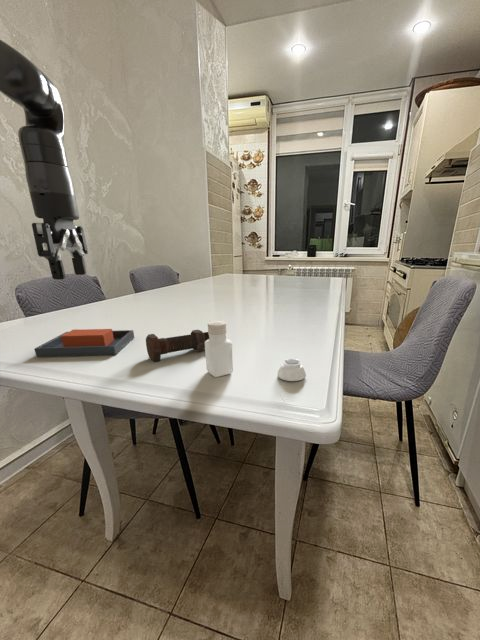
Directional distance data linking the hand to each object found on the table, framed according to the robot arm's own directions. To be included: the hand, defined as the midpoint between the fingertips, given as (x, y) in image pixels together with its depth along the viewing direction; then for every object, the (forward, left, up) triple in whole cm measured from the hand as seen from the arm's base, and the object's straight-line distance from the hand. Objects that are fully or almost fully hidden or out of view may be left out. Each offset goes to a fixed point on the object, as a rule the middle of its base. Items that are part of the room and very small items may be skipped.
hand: (70, 276), depth 63 cm
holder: (+1, -1, -16) cm, 16 cm away
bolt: (+24, -7, -16) cm, 30 cm away
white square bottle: (+32, -18, -16) cm, 40 cm away
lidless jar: (+45, -21, -16) cm, 52 cm away
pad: (+1, -1, -15) cm, 15 cm away
